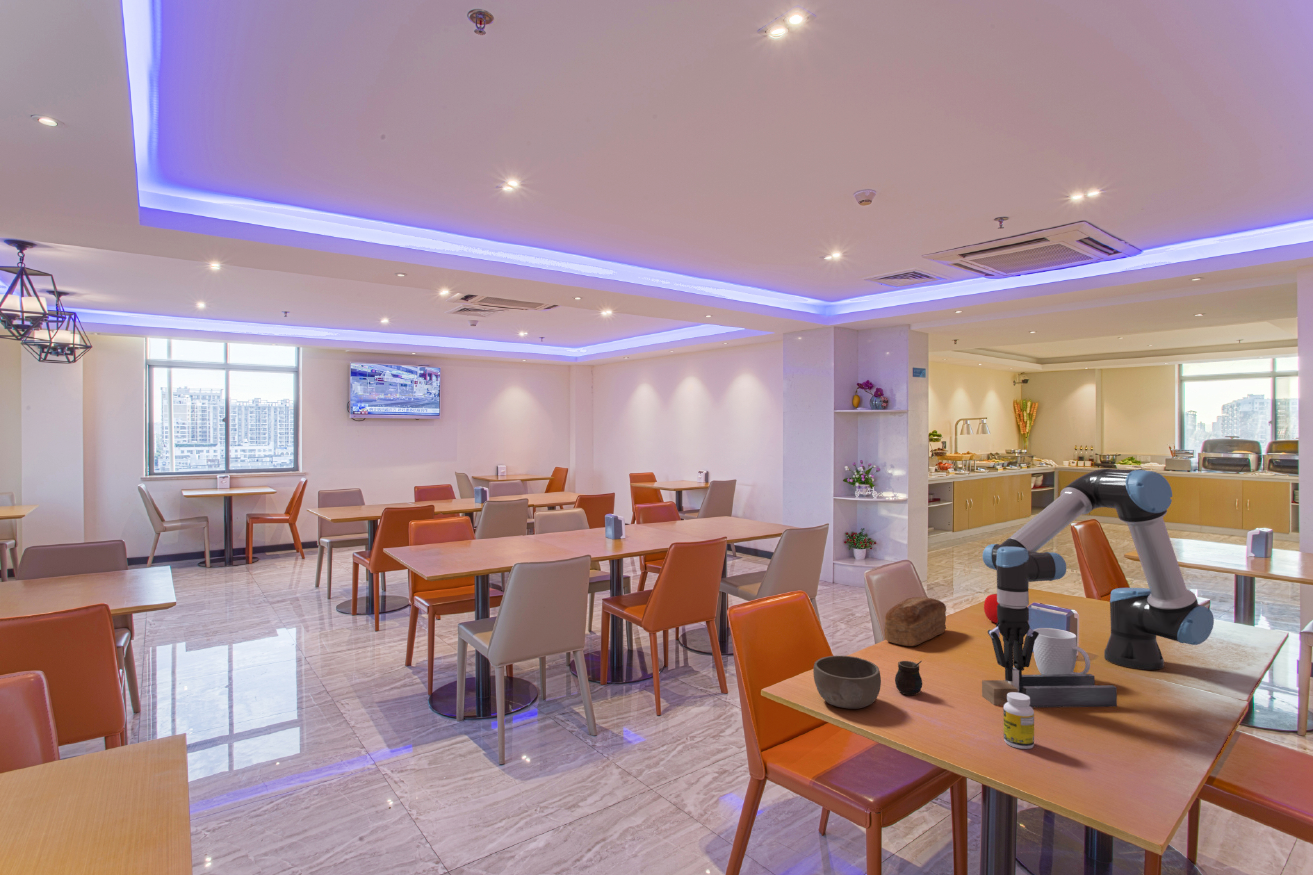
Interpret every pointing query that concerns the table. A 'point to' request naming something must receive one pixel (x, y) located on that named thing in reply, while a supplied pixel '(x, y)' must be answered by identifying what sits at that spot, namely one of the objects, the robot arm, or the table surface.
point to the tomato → (991, 607)
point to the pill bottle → (1018, 721)
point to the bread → (915, 621)
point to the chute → (1067, 691)
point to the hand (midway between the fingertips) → (1013, 692)
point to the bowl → (847, 681)
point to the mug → (1057, 652)
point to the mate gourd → (908, 678)
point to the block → (996, 691)
